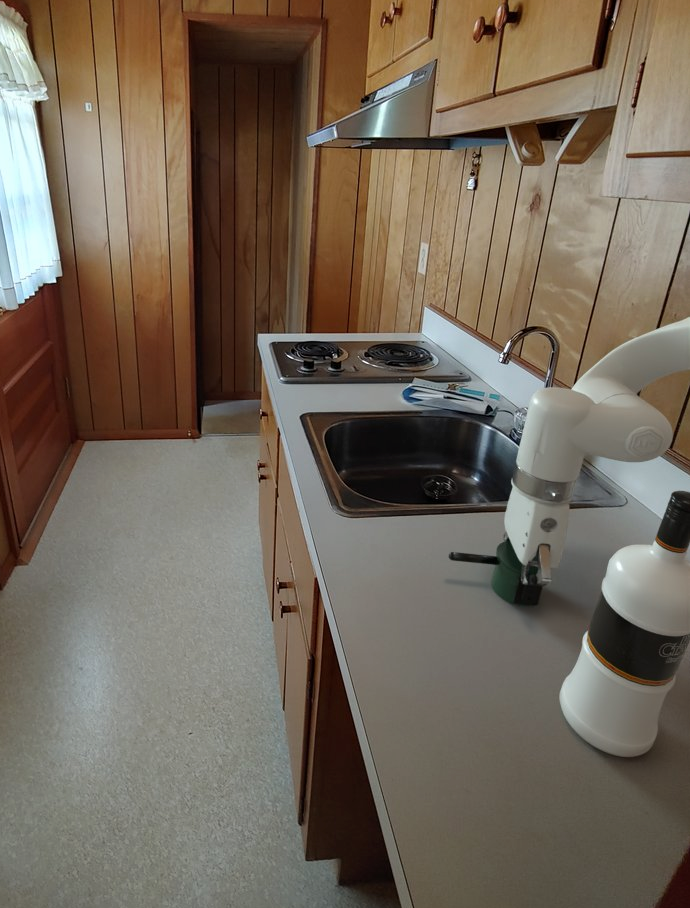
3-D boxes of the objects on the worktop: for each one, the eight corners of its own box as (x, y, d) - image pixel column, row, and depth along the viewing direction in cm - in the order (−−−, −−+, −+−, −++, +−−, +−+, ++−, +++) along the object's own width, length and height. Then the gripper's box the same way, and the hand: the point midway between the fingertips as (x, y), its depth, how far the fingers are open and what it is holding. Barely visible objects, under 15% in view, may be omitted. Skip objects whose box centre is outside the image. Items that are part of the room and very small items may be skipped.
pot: (533, 574, 83) (541, 542, 81) (549, 610, 77) (559, 576, 75) (439, 565, 85) (445, 533, 83) (447, 599, 78) (454, 566, 76)
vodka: (569, 670, 68) (639, 459, 56) (657, 716, 62) (756, 494, 51) (547, 724, 61) (622, 498, 49) (644, 781, 56) (754, 542, 44)
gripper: (601, 521, 65) (565, 633, 72) (550, 449, 81) (525, 547, 88) (534, 515, 66) (505, 627, 73) (497, 445, 81) (476, 542, 89)
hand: (516, 582), depth 80 cm, fingers closed on pot, 7 cm apart
